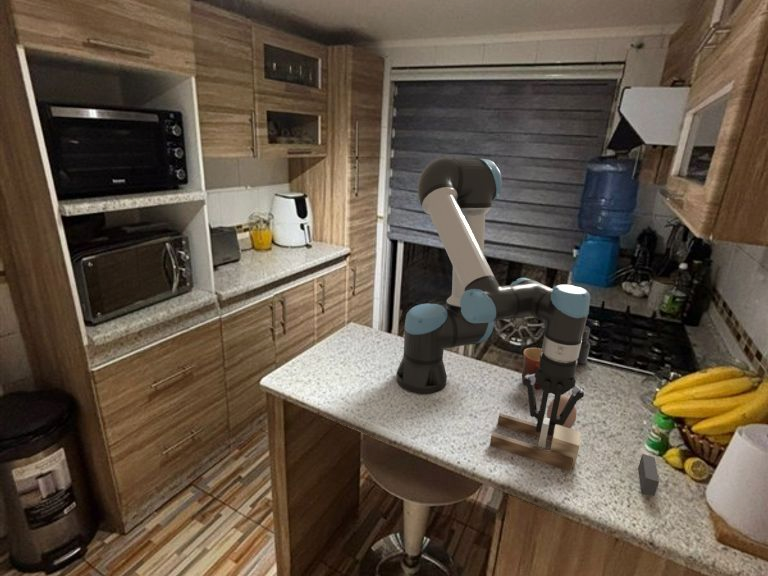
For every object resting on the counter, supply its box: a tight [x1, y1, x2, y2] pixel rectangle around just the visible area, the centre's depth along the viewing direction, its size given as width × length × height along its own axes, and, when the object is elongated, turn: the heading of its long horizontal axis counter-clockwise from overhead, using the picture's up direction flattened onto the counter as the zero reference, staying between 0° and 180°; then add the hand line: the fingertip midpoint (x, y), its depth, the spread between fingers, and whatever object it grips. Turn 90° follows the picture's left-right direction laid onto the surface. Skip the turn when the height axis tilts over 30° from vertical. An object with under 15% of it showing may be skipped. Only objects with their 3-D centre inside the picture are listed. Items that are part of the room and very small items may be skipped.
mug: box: [521, 347, 542, 391], centre depth 123 cm, size 12×9×10 cm
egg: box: [546, 394, 577, 429], centre depth 105 cm, size 7×7×10 cm
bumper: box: [637, 453, 660, 498], centre depth 90 cm, size 2×8×4 cm, turn 154°
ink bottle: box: [577, 325, 591, 366], centre depth 141 cm, size 10×9×12 cm
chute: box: [489, 412, 573, 473], centre depth 100 cm, size 18×10×3 cm, turn 64°
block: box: [549, 424, 581, 468], centre depth 97 cm, size 6×6×6 cm
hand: (541, 443), depth 99 cm, fingers closed
